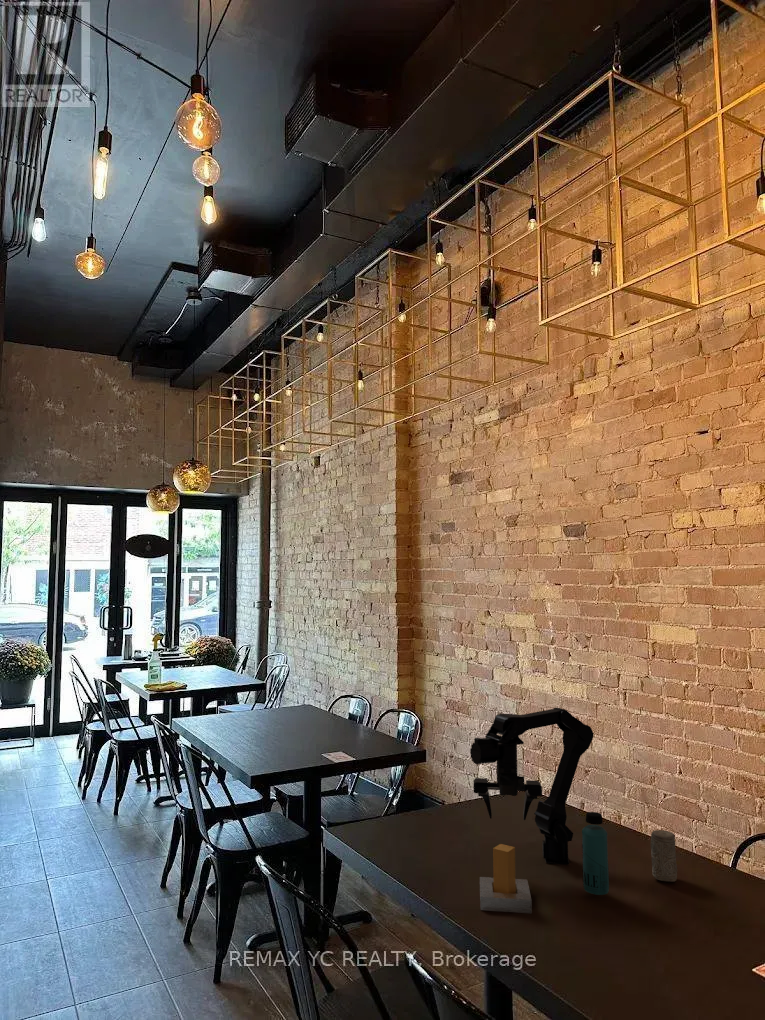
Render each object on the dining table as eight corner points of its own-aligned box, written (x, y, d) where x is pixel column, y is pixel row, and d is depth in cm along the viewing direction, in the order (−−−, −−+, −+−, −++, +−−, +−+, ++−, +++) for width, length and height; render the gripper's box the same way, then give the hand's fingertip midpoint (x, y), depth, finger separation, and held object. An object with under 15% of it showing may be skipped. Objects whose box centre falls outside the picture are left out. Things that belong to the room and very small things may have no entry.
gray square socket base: (527, 892, 177) (527, 879, 178) (531, 913, 165) (531, 900, 166) (479, 889, 179) (479, 876, 179) (480, 910, 167) (480, 896, 167)
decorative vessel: (678, 876, 188) (676, 830, 189) (677, 887, 181) (675, 838, 182) (653, 872, 190) (651, 826, 192) (651, 882, 183) (649, 835, 185)
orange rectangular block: (501, 896, 175) (500, 843, 176) (515, 900, 172) (514, 847, 174) (493, 901, 172) (493, 848, 173) (508, 906, 169) (507, 851, 171)
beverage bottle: (610, 892, 177) (607, 810, 180) (609, 903, 171) (607, 818, 173) (583, 889, 179) (581, 807, 182) (582, 899, 173) (580, 815, 175)
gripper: (473, 766, 189) (473, 826, 187) (543, 769, 187) (544, 830, 185) (473, 757, 200) (473, 814, 198) (539, 759, 198) (540, 817, 196)
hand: (507, 819), depth 194 cm, fingers open, 9 cm apart
